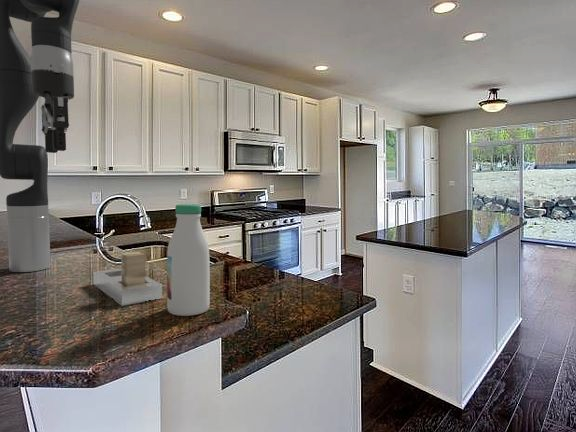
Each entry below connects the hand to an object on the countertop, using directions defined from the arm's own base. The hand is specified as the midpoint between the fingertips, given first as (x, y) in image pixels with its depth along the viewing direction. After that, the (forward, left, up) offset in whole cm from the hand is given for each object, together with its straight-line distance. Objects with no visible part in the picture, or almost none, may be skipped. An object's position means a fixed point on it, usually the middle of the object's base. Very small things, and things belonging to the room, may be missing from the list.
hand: (55, 151), depth 80 cm
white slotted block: (+9, +11, -30) cm, 33 cm away
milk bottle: (+29, +16, -30) cm, 45 cm away
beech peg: (+14, +11, -30) cm, 35 cm away
